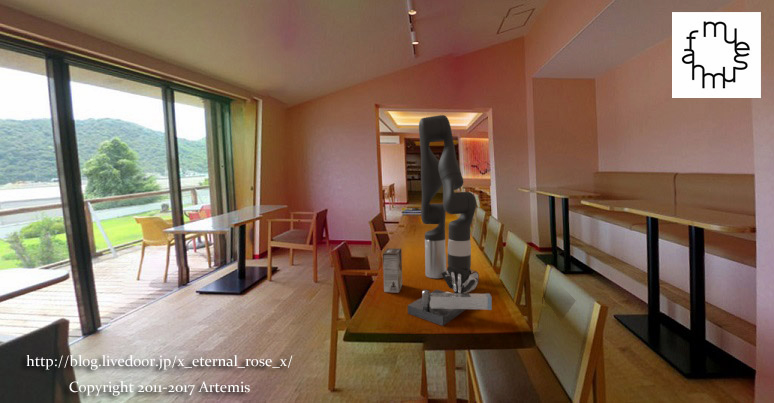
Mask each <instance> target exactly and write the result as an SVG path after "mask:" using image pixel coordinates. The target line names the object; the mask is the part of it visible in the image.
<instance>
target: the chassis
mask: <svg viewBox="0 0 774 403" xmlns="http://www.w3.org/2000/svg"><path fill="white" fill-rule="evenodd" d="M430 293H452V292H450V291H444V290H440V289H435V290H433V291H431V292H430V290H428V289H423V290H422V291H421V295H422V296H421V297H420V298H418V299H416V300H414V301H413V302H411V303H410V304H409V303H408V305H407V314H408V315H411V316H414V317H417V318H418V319H419V318H420V319H422V320H425V321H428V322H429V323H433V324H436V325H439V326H442V327H443V326H445V325H446V324H448V323H450V322H451V321H452V320H454V319H455V318H456V317H458V316H459V315H461V314H462V313H463V312H464V311H466V310H467V309H435V308H431V296H430Z"/></svg>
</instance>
